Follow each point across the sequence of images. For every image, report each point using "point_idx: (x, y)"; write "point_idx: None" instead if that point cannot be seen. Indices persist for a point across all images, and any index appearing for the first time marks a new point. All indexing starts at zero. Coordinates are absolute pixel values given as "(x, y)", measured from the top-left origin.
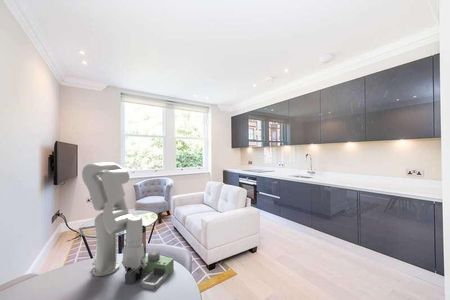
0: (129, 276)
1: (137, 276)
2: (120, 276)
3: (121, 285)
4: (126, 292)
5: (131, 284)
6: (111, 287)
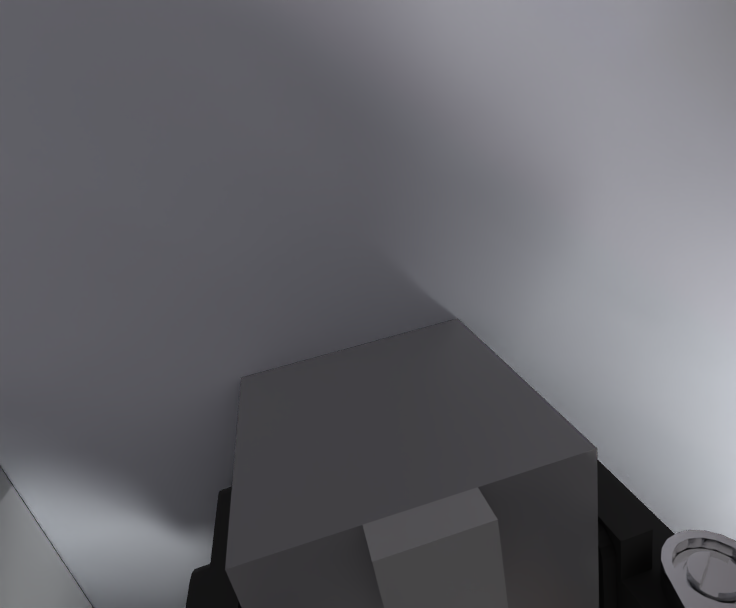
0: (361, 477)
1: (215, 603)
2: (712, 377)
3: (454, 230)
4: (48, 126)
5: (264, 373)
6: (615, 56)
